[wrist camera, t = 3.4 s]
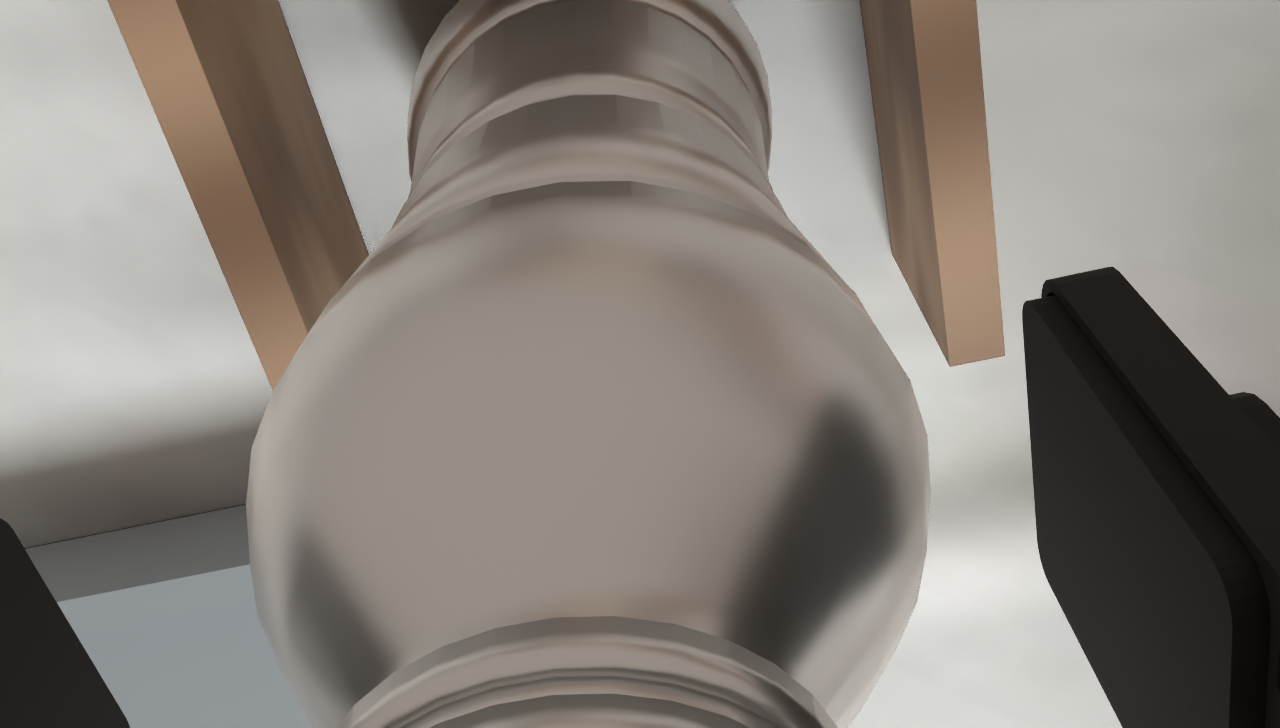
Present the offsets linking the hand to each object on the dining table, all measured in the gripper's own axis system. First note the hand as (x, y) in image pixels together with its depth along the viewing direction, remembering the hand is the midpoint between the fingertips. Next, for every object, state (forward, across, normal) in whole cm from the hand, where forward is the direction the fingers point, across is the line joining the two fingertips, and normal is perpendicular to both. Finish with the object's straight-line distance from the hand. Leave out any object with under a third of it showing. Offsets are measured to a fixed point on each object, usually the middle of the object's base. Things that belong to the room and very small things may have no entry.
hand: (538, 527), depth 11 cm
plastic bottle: (+15, 0, +1) cm, 15 cm away
